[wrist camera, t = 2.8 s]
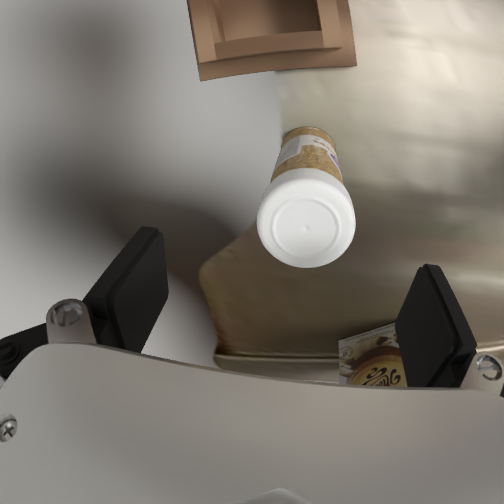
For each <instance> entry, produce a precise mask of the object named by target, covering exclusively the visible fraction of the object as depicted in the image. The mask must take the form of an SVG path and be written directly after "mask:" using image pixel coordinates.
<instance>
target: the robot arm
mask: <svg viewBox="0 0 504 504" xmlns="http://www.w3.org/2000/svg"><path fill="white" fill-rule="evenodd" d="M163 241H164V240H163V234H162V233H161V232H159V230H158V229H157V228H153V227H144V226H142V227H141V228H140V229H139V230H138V231H137V232H136V234H135V235H134V236H133V237H132V238H131V240H130V241H129V242H128V243H127V244H126V246H125V247H124V248H123V249H122V250H121V252H120V253H119V254H118V256H117V257H116V258H115V259H114V260H113V262H112V263H111V264H110V265H109V267H108V268H107V269H106V270H105V272H104V273H103V274H102V276H101V277H100V278H99V279H98V281H97V282H96V283H95V285H94V286H93V287H92V288H91V290H90V291H89V292H88V294H87V295H86V296H85V298H84V299H83V300H82V301H81V300H77V299H64V300H62V301H59V302H57V303H56V304H54V305H53V306H52V307H51V308H50V309H49V310H48V313H47V315H46V323H44V324H41V325H38V326H35V327H32V328H30V329H27V330H24V331H21V332H19V333H16V334H13V335H10V336H7V337H5V338H3V339H1V340H0V504H504V366H503V364H502V362H501V361H500V360H499V359H498V358H497V357H496V356H495V355H493V354H491V353H489V352H479V353H477V352H476V349H475V348H476V346H477V343H476V341H475V338H474V336H473V334H472V331H471V329H470V327H469V325H468V322H467V320H466V318H465V316H464V314H463V312H462V309H461V307H460V305H459V303H458V301H457V299H456V297H455V295H454V293H453V291H452V289H451V287H450V285H449V283H448V281H447V279H446V277H445V275H444V273H443V272H442V270H441V268H440V267H439V266H437V265H431V264H424V265H423V267H419V269H418V270H417V273H416V275H415V278H414V280H413V283H412V285H411V287H410V290H409V292H408V294H407V297H406V299H405V301H404V304H403V306H402V308H401V310H400V312H399V315H398V317H397V319H396V322H395V332H396V336H397V341H398V345H399V349H400V354H401V358H402V363H403V367H404V372H405V377H406V382H407V387H389V386H366V385H349V384H336V383H324V382H313V381H303V380H293V379H285V378H277V377H269V376H261V375H254V374H248V373H241V372H235V371H228V370H222V369H216V368H210V367H205V366H200V365H194V364H189V363H184V362H179V361H175V360H170V359H165V358H160V357H155V356H150V355H146V354H141V351H142V349H143V347H144V345H145V343H146V341H147V339H148V337H149V335H150V333H151V331H152V329H153V326H154V324H155V323H156V320H157V319H158V316H159V315H160V313H161V310H162V308H163V307H164V304H165V302H166V301H167V298H168V292H169V291H168V281H167V273H166V262H165V251H164V242H163Z"/></svg>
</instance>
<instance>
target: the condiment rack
mask: <svg viewBox="0 0 504 504" xmlns="http://www.w3.org/2000/svg"><path fill="white" fill-rule="evenodd" d="M187 5H188V11H189V18H190V24H191V30H192V35H193V42H194V47H195V53H196V59H197V65H198V71H199V77H200V81H206V80H211V79H216V78H222V77H229V76H235V75H241V74H249V73H257V72H266V71H275V70H285V69H297V68H312V67H336V66H357V62H356V53H355V45H354V37H353V30H352V23H351V16H350V10H349V4H348V0H187Z"/></svg>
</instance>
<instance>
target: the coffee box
mask: <svg viewBox="0 0 504 504" xmlns="http://www.w3.org/2000/svg"><path fill="white" fill-rule="evenodd" d="M339 384H349V385H366V386H389V387H407V382H406V377H405V372H404V367H403V363H402V358H401V354H400V349H399V345H398V341H397V336H396V332H395V323H392V324H389V325H386V326H383V327H380V328H377V329H374V330H371V331H368V332H365V333H362V334H359V335H355V336H352V337H349V338H345V339H342V340H339Z"/></svg>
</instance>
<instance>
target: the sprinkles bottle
mask: <svg viewBox="0 0 504 504" xmlns="http://www.w3.org/2000/svg"><path fill="white" fill-rule="evenodd" d="M257 230H258V234H259V237H260V239H261V241H262V243H263V245H264V247H265V248H266V249H267V250H268V251H269V252H270V253H271V254H272V255H273V256H274V257H275V258H277V259H278V260H280V261H282V262H284V263H286V264H288V265H291V266H295V267H301V268H313V267H319V266H323V265H326V264H328V263H330V262H332V261H334V260H336V259H337V258H338V257H340V256H341V255H342V254H343V253H344V252H345V251H346V249H347V248H348V247H349V245H350V243H351V241H352V239H353V236H354V232H355V214H354V209H353V205H352V201H351V198H350V196H349V193H348V192H347V190H346V188H345V187H344V186H343V180H342V175H341V171H340V168H339V163H338V159H337V156H336V150H335V145H334V143H333V141H332V139H331V138H330V137H329V136H328V135H327V134H326V133H325V132H324V131H322V130H320V129H318V128H315V127H300V128H297V129H295V130H293V131H291V132H290V133H289V134H288V135H287V136H286V137H285V139H284V140H283V143H282V145H281V151H280V154H279V157H278V160H277V162H276V166H275V169H274V172H273V175H272V178H271V182H270V184H269V186H268V187H267V189H266V190H265V192H264V194H263V197H262V200H261V203H260V206H259V210H258V214H257Z"/></svg>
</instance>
